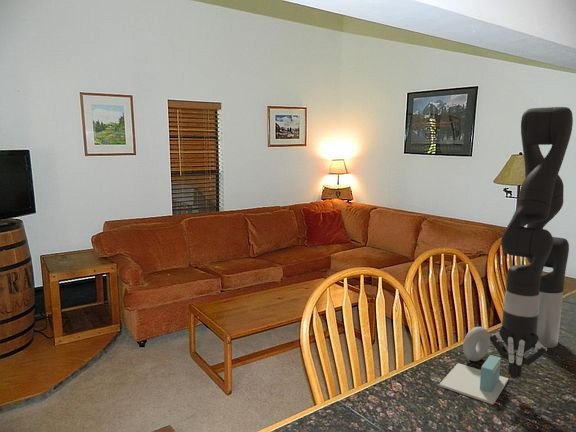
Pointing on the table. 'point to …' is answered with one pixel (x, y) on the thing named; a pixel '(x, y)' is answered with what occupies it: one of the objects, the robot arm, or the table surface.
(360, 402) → the table surface
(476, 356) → the donut
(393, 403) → the table surface
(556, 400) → the table surface
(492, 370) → the box
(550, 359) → the table surface
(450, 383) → the mat
